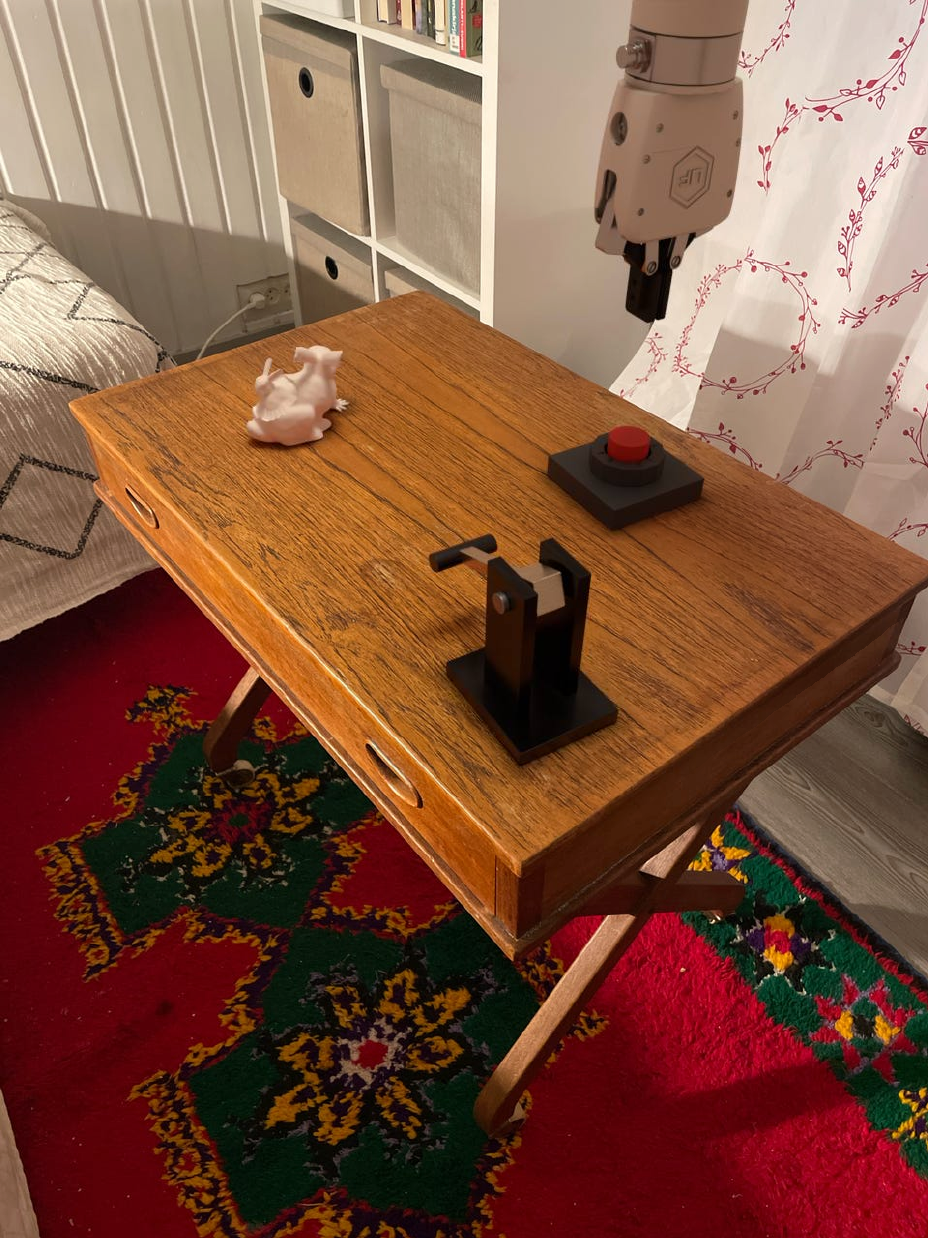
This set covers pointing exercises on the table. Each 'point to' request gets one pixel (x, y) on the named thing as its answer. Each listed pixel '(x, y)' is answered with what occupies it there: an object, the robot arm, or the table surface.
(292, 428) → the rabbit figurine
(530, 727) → the switch bracket
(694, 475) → the control block
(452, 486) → the table surface
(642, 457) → the button
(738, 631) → the table surface
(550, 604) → the lever
